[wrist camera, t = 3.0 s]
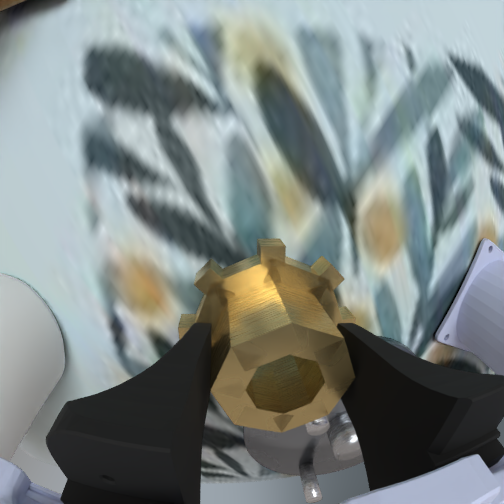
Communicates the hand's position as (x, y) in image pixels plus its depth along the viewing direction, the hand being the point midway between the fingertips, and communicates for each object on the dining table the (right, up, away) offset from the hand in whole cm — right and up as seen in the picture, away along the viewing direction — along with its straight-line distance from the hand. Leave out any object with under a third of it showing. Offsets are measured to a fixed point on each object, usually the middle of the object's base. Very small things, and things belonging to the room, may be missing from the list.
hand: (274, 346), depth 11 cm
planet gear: (0, +1, +2) cm, 2 cm away
